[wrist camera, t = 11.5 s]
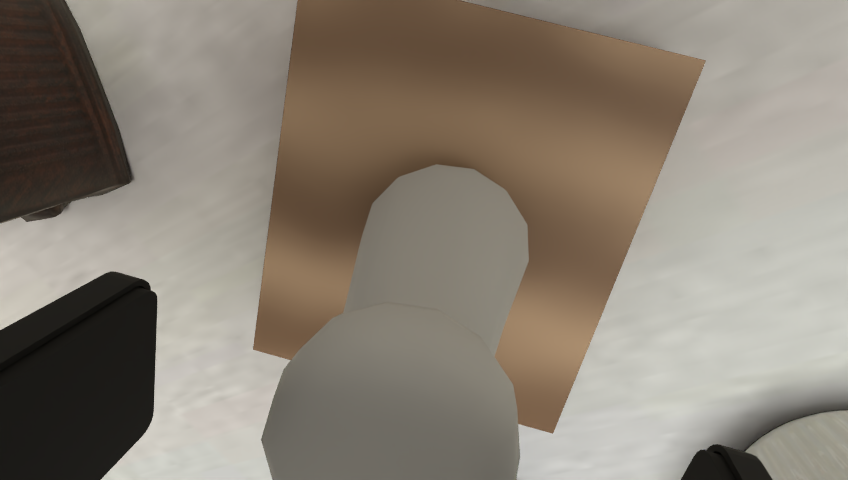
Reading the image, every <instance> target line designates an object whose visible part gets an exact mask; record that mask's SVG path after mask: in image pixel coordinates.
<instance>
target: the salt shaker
mask: <svg viewBox="0 0 848 480" xmlns="http://www.w3.org/2000/svg"><path fill="white" fill-rule="evenodd" d="M528 262H529V253H528V226H527V223H526V222H525V220H524V218H523V217H522V215H521V213H520V212H519V210H518V209H517V207H516V205H515V204H514V202H513V200H512V199H511V197H510V195H509V194H508V192H507V191H506V190H505V189H504V188H502V187H501V186H499V185H498V184H496V183H494V182H493V181H491V180H490V179H488V178H487V177H485V176H484V175H482V174H481V173H479V172H478V171H476V170H475V169H470V168H462V167H454V166H446V165H438V164H436V165H433V166H430V167H427V168H424V169H421V170H418V171H415V172H412V173H409V174H406V175H403V176H400V177H398V178H397V179H396V180H395V181H394V182H393V183H392V184H391V185H390V186H389V187H388V188H387V189H386V190H385V191H384V192H383V193H382V194H381V195H380V196H379V197H378V198H377V199H376V200H375V201H374V202H373V203H372V206H371V209H370V212H369V215H368V219H367V222H366V225H365V228H364V231H363V234H362V238H361V242H360V246H359V250H358V254H357V258H356V262H355V266H354V271H353V275H352V279H351V283H350V287H349V291H348V295H347V299H346V304H345V308H344V312H343V313H342V314H340V315H338V316H336V317H333V318H332V319H331V320H330V321H329V322H328V323H327V324H326V325H325V326H324V327H323V328H322V329H320V330H319V331H318V332H317V333H316V334H315V335H314V336H313V337H312V338H311V339H310V340H309V341H308V342H307V343H306V344H305V345H304V346H303V347H302V348H301V349H300V350H299V351H298V352H297V353H296V355H295V356H294V357H293V358H292V360H291V361H290V362H289V363H288V365H287V366H286V367H285V369H284V371H283V373H282V376H281V379H280V381H279V384H278V387H277V390H276V392H275V395H274V398H273V401H272V405H271V408H270V412H269V415H268V418H267V422H266V425H265V429H264V432H263V435H262V439H261V441H262V444H263V448H264V451H265V455H266V458H267V462H268V465H269V469H270V472H271V476H272V479H273V480H516V476H517V471H518V465H519V459H520V449H519V432H518V414H517V405H516V399H515V393H514V387H513V384H512V382H511V381H510V379H509V378H508V376H507V375H506V373H505V372H504V370H503V369H502V367H501V366H500V364H499V363H498V361H497V360H496V358H495V357H494V356H495V353H496V350H497V347H498V344H499V341H500V338H501V335H502V331H503V328H504V325H505V322H506V320H507V317H508V314H509V312H510V309H511V306H512V304H513V301H514V299H515V296H516V293H517V291H518V288H519V285H520V283H521V280H522V277H523V275H524V272H525V269H526V267H527V264H528Z"/></svg>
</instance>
